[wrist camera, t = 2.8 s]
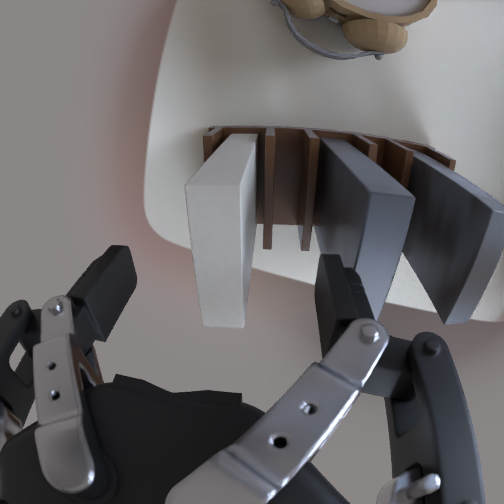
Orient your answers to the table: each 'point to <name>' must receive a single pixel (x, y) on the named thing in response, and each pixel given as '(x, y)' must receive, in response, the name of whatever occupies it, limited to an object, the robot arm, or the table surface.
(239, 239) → the white book
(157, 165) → the table surface
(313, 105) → the table surface
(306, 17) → the alarm clock
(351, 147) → the rack
